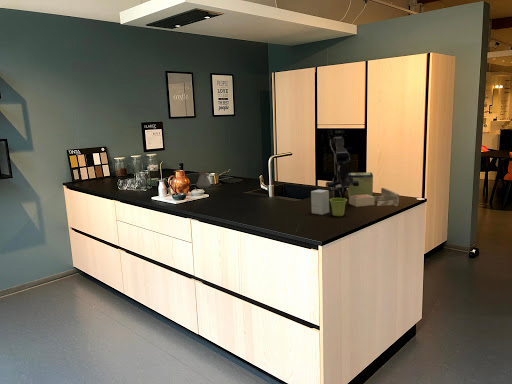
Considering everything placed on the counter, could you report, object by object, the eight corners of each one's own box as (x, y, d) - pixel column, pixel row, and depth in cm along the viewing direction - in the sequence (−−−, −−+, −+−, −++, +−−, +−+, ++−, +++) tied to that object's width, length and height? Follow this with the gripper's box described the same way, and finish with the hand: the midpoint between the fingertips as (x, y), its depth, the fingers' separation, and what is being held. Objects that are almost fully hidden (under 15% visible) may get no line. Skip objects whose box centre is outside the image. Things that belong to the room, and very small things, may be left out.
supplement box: (329, 212, 236) (329, 190, 234) (321, 215, 231) (321, 192, 229) (318, 210, 241) (318, 189, 239) (311, 213, 236) (310, 191, 234)
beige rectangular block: (356, 207, 247) (356, 198, 246) (349, 204, 255) (349, 195, 254) (374, 205, 249) (374, 196, 248) (367, 202, 258) (367, 194, 257)
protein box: (373, 198, 266) (373, 174, 263) (347, 199, 269) (347, 175, 266) (372, 195, 276) (372, 172, 273) (347, 195, 279) (347, 172, 276)
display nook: (380, 207, 242) (380, 195, 241) (366, 199, 264) (366, 188, 262) (398, 206, 243) (398, 194, 242) (383, 198, 265) (383, 187, 263)
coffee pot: (194, 188, 337) (192, 169, 334) (206, 186, 344) (205, 168, 341) (207, 191, 320) (206, 171, 318) (220, 189, 327) (219, 170, 324)
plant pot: (343, 212, 234) (343, 197, 233) (349, 216, 225) (349, 200, 223) (327, 213, 233) (327, 198, 231) (333, 217, 224) (333, 201, 222)
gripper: (330, 175, 239) (330, 201, 242) (362, 173, 241) (362, 199, 243) (325, 172, 250) (325, 198, 253) (355, 170, 251) (355, 196, 254)
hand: (342, 198), depth 250 cm, fingers closed
